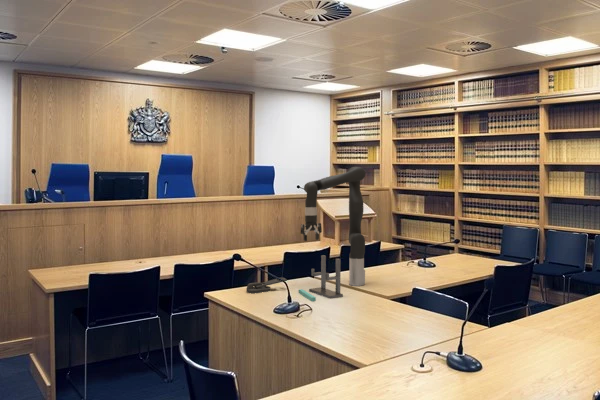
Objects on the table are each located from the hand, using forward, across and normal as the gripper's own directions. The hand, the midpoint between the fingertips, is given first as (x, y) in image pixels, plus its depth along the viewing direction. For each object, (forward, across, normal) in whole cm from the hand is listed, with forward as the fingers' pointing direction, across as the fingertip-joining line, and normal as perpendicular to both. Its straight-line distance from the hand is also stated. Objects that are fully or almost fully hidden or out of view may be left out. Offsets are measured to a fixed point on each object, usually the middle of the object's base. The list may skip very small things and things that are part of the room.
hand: (311, 240), depth 330 cm
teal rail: (+30, +17, +20) cm, 39 cm away
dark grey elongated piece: (+30, +28, -7) cm, 42 cm away
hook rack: (+29, +3, +20) cm, 36 cm away
